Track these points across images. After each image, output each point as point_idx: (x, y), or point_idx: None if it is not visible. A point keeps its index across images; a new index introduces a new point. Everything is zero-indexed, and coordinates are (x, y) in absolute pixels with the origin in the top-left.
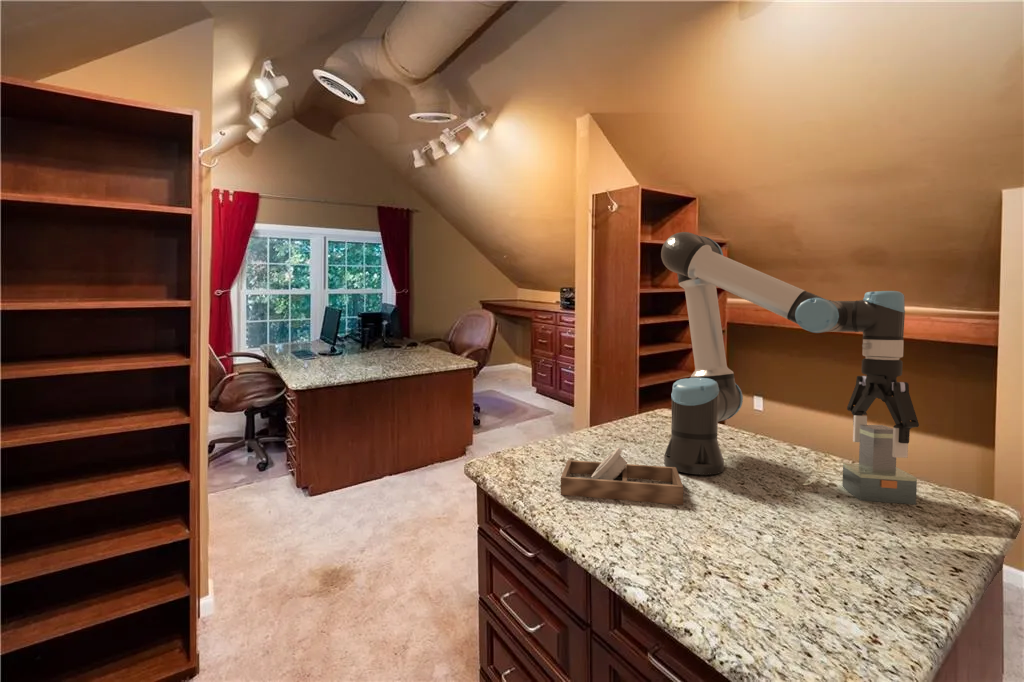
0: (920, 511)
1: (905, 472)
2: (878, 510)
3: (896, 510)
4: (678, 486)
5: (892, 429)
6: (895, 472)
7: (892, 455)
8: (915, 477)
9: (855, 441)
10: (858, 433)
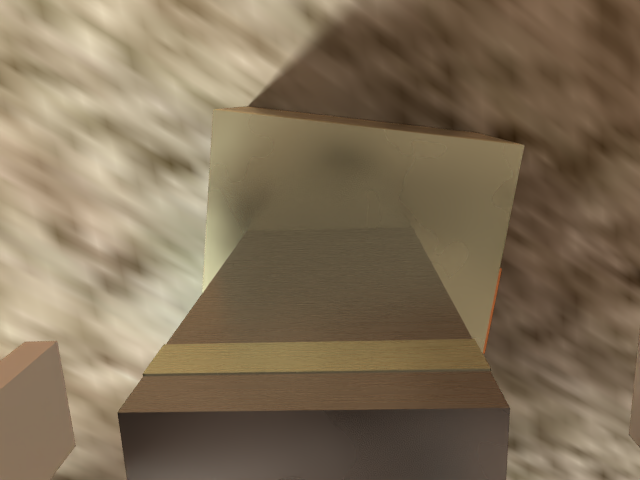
0: (578, 180)
1: (387, 139)
2: (567, 378)
3: (566, 294)
4: None
5: (496, 473)
6: (411, 228)
7: (637, 440)
8: (518, 152)
9: (70, 442)
10: (16, 474)
